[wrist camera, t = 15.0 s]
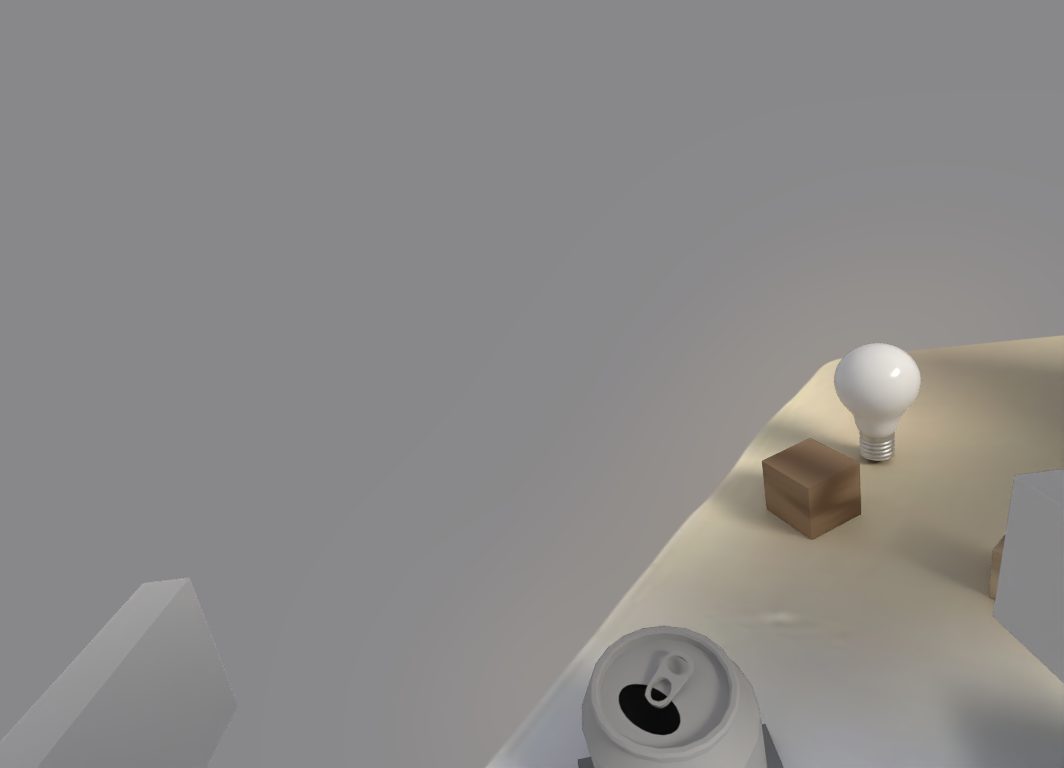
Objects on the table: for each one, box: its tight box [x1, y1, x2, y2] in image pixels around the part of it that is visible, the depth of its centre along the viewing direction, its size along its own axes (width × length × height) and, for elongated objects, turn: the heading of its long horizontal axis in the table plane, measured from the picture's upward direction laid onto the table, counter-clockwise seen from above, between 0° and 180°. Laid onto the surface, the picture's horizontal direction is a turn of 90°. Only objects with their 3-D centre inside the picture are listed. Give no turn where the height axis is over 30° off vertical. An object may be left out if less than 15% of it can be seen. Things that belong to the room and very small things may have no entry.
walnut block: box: [762, 438, 861, 540], centre depth 49 cm, size 5×5×5 cm
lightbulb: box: [834, 343, 921, 461], centre depth 52 cm, size 6×6×11 cm
